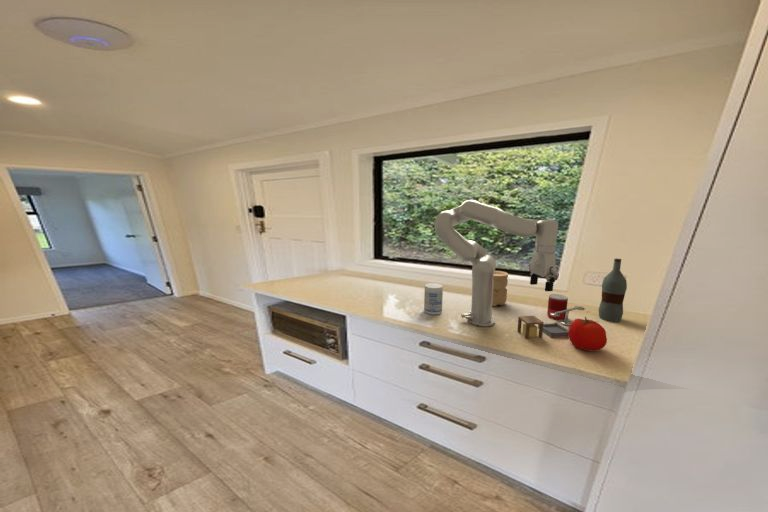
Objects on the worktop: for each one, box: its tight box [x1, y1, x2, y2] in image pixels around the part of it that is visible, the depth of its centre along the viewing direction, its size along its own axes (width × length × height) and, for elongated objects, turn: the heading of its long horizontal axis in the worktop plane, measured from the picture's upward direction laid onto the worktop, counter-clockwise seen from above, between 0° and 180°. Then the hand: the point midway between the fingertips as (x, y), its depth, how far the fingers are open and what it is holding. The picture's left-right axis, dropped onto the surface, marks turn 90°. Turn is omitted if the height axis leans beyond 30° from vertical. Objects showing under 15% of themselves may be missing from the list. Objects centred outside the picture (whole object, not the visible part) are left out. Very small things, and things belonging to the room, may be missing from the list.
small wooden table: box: [517, 315, 545, 340], centre depth 121 cm, size 7×7×7 cm
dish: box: [537, 322, 569, 338], centre depth 124 cm, size 9×9×2 cm
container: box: [492, 270, 509, 307], centre depth 159 cm, size 13×13×18 cm
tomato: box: [568, 316, 608, 352], centre depth 109 cm, size 12×13×12 cm
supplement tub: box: [423, 282, 444, 316], centre depth 148 cm, size 10×10×15 cm
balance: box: [550, 305, 585, 327], centre depth 131 cm, size 16×4×8 cm, turn 95°
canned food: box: [546, 293, 569, 321], centre depth 139 cm, size 8×8×11 cm
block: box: [522, 323, 538, 338], centre depth 122 cm, size 4×4×4 cm
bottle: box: [598, 258, 628, 323], centre depth 134 cm, size 9×9×30 cm
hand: (540, 287), depth 122 cm, fingers open, 9 cm apart
